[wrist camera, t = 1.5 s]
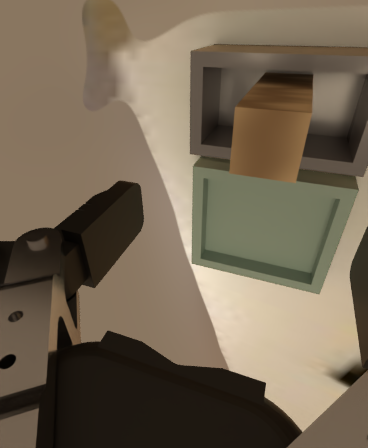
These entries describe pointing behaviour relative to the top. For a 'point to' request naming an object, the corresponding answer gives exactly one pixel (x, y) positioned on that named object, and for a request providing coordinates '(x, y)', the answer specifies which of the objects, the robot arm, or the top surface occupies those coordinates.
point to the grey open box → (292, 64)
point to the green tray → (269, 223)
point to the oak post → (272, 127)
